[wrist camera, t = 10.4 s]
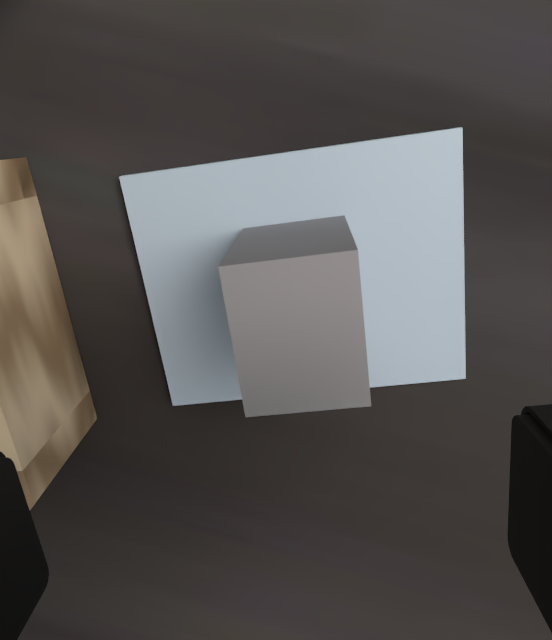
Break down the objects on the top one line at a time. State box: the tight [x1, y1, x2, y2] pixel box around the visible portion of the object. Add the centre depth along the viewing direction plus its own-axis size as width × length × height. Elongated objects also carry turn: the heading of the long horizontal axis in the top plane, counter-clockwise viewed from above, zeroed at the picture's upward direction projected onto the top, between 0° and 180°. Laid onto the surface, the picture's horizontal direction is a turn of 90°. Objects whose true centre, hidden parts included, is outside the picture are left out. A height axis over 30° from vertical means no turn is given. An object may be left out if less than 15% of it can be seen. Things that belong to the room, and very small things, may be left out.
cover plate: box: [119, 127, 466, 417], centre depth 19 cm, size 10×13×7 cm
